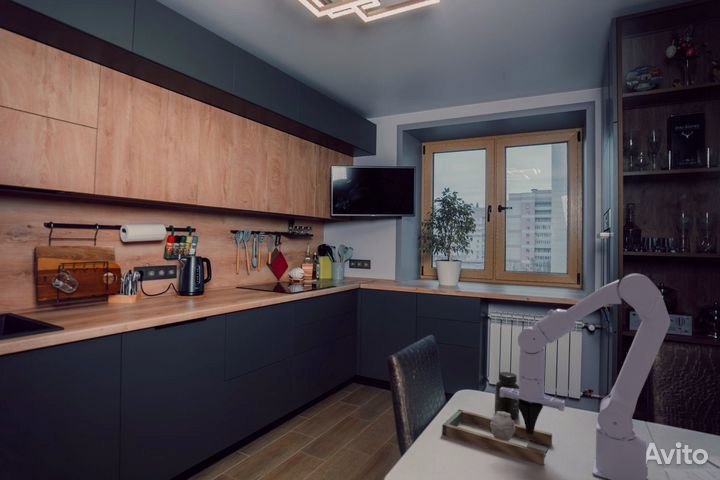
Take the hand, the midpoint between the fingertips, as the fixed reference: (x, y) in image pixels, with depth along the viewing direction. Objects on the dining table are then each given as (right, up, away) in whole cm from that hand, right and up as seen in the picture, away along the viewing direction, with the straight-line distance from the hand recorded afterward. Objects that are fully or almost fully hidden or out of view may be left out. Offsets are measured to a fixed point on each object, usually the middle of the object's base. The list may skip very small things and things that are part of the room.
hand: (530, 432), depth 97 cm
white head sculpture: (-6, -4, +4) cm, 8 cm away
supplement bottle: (+1, -5, +19) cm, 20 cm away
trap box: (-6, -4, +4) cm, 9 cm away
